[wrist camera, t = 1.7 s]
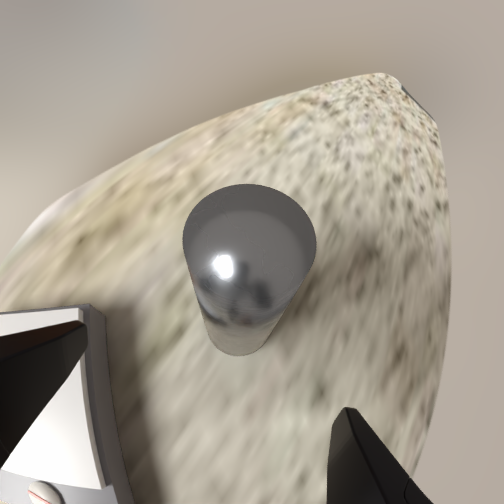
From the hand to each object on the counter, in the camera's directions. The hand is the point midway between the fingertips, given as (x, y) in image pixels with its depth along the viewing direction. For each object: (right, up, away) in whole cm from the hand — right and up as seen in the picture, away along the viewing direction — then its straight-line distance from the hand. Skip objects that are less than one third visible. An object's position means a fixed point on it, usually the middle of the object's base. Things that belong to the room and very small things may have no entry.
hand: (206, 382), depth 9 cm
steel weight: (0, -1, +12) cm, 12 cm away
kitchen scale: (-14, -9, +7) cm, 18 cm away
